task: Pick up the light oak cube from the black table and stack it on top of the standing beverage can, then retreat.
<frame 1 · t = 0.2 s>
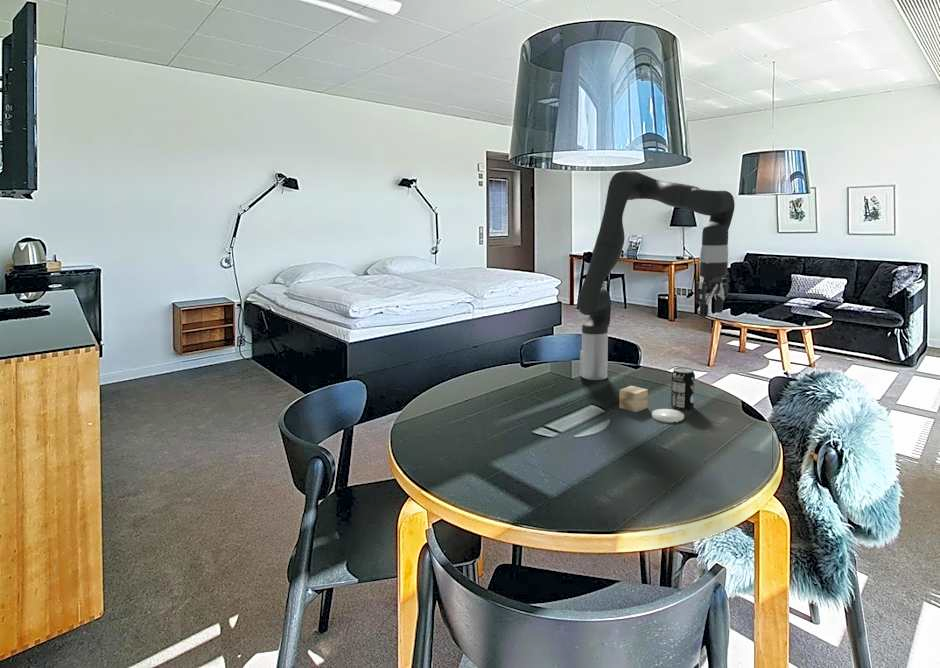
hand: (711, 314, 166), 29 cm above the table, tool pointing down, fingers open, 8 cm apart
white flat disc: (667, 417, 163), on the table
oak cube: (633, 408, 173), on the table
beverage can: (682, 407, 172), on the table
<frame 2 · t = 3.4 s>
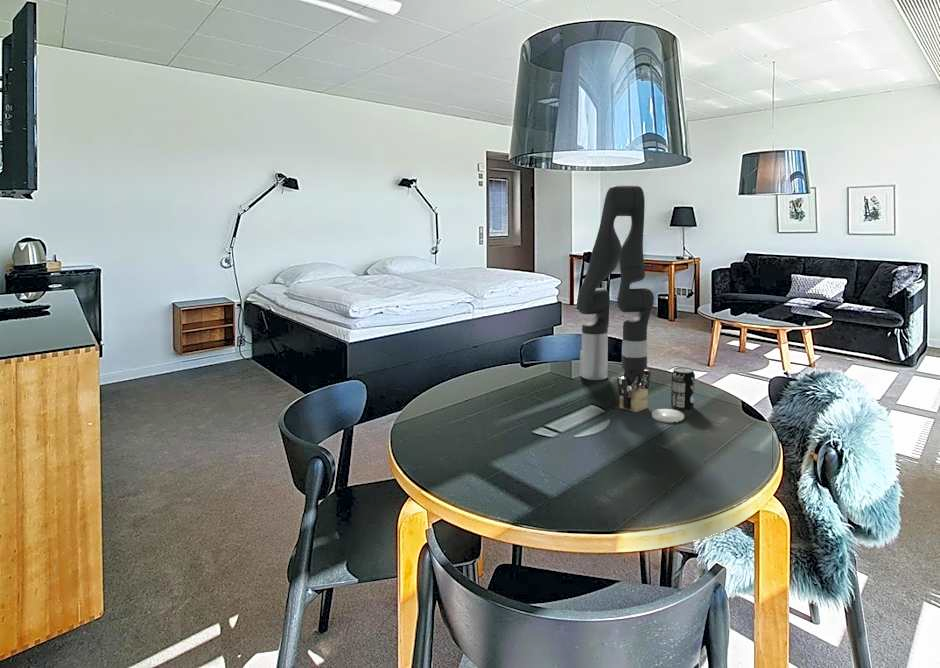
hand: (633, 405, 172), 1 cm above the table, tool pointing down, fingers closed on oak cube, 6 cm apart
oak cube: (633, 407, 173), on the table, touching gripper
everything else where it was.
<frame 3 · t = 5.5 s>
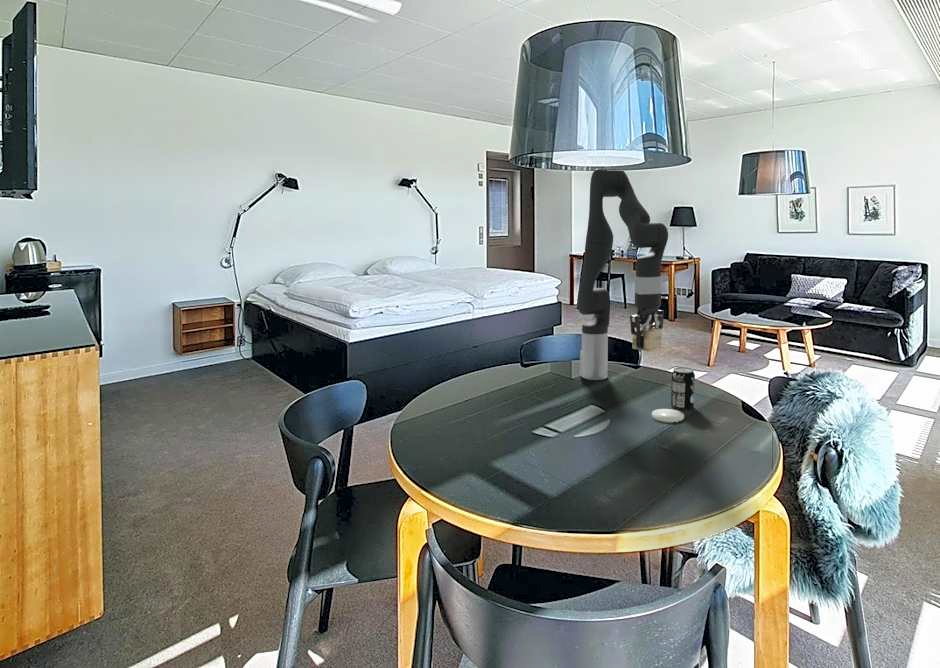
hand: (646, 346, 168), 20 cm above the table, tool pointing down, fingers closed on oak cube, 6 cm apart
oak cube: (646, 348, 168), point 19 cm above the table, touching gripper
everything else where it was.
when the fingers open (14 cm above the table, at t = 7.8 s): oak cube stays where it is, resting on beverage can.
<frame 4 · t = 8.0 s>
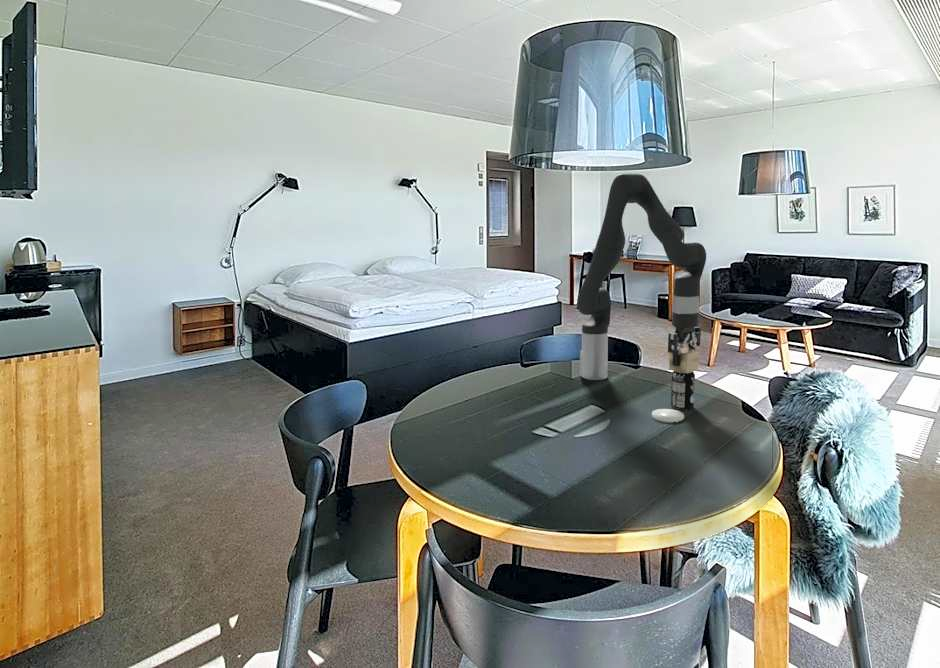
hand: (683, 363, 169), 14 cm above the table, tool pointing down, fingers open, 7 cm apart
oak cube: (683, 369, 169), point 12 cm above the table, touching beverage can
beverage can: (682, 407, 172), on the table, touching oak cube
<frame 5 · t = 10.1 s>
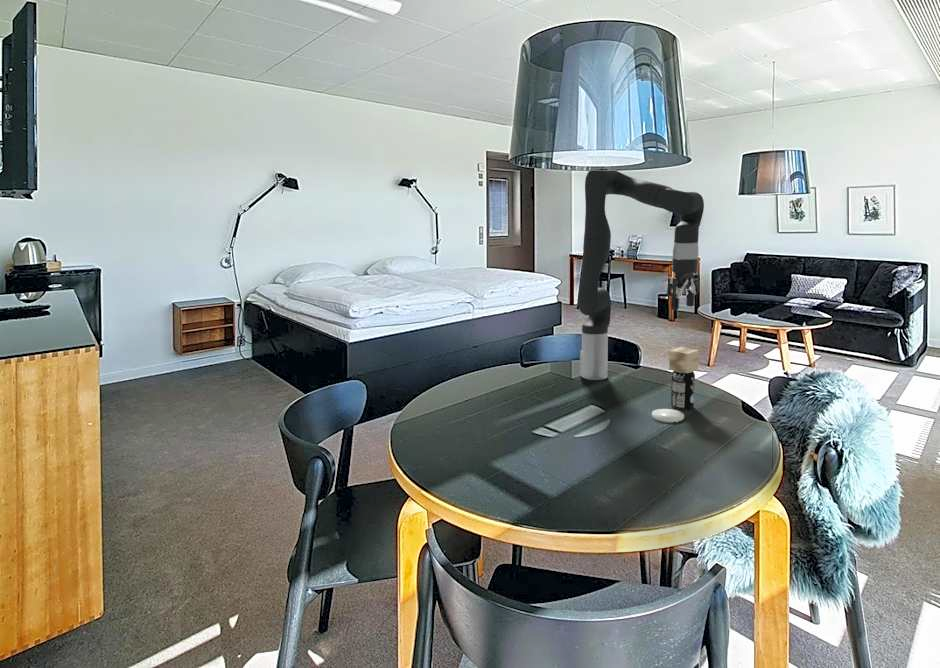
hand: (682, 307, 178), 29 cm above the table, tool pointing down, fingers open, 8 cm apart
nothing on the table moved.
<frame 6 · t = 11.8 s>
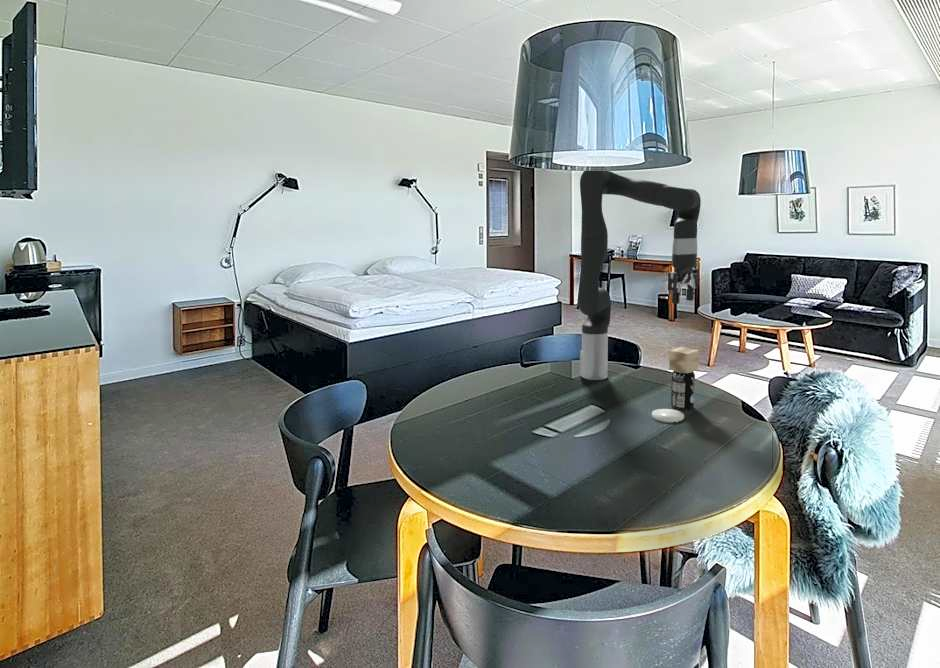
hand: (682, 301, 182), 30 cm above the table, tool pointing down, fingers open, 8 cm apart
nothing on the table moved.
at the end: oak cube 0.0 cm from the beverage can (horizontally); oak cube point 12.0 cm above the table; beverage can tilted 0° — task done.
